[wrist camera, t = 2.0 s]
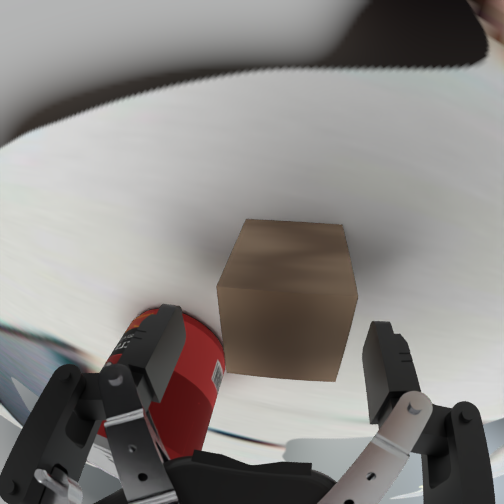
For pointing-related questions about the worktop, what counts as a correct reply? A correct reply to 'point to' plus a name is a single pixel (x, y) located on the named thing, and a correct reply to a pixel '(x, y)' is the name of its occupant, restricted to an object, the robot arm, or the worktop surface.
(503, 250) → the worktop surface
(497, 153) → the worktop surface
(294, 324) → the walnut block
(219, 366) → the canned food
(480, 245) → the worktop surface
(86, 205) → the worktop surface
